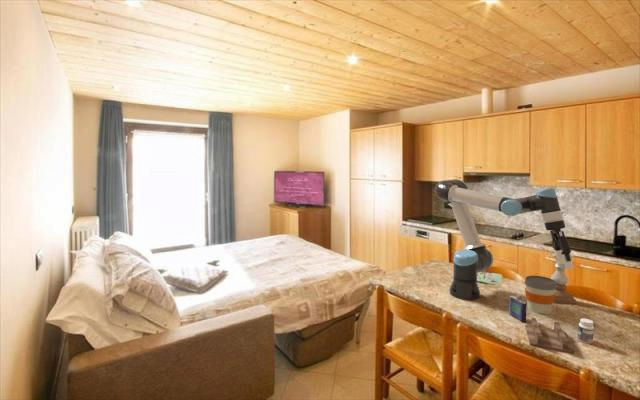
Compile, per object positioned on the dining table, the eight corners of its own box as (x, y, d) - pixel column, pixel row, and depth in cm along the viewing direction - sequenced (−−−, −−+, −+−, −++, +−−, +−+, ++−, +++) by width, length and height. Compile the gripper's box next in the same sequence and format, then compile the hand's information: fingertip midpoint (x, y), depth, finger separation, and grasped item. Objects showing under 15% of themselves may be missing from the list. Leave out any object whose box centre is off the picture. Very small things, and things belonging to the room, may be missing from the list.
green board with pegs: (478, 270, 217) (478, 257, 216) (512, 277, 202) (512, 263, 201) (460, 279, 201) (461, 265, 200) (495, 288, 186) (496, 272, 185)
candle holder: (576, 304, 161) (579, 257, 159) (551, 302, 164) (554, 256, 161) (564, 295, 172) (567, 251, 170) (541, 294, 174) (544, 251, 172)
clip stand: (575, 353, 119) (575, 342, 119) (530, 345, 125) (530, 334, 125) (564, 333, 133) (565, 323, 133) (525, 326, 140) (525, 316, 139)
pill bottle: (577, 336, 131) (578, 316, 131) (592, 339, 129) (593, 319, 128) (578, 341, 128) (579, 321, 127) (593, 345, 125) (595, 324, 124)
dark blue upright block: (507, 313, 152) (508, 292, 151) (513, 313, 152) (514, 291, 151) (522, 323, 143) (523, 300, 142) (528, 322, 143) (529, 299, 142)
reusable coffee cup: (545, 318, 147) (547, 286, 146) (517, 307, 158) (519, 278, 157) (560, 312, 153) (562, 281, 152) (532, 302, 164) (534, 273, 163)
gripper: (570, 219, 138) (584, 269, 136) (556, 218, 161) (568, 261, 158) (550, 223, 141) (563, 271, 139) (539, 221, 164) (550, 263, 161)
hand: (566, 266), depth 148 cm, fingers open, 13 cm apart
